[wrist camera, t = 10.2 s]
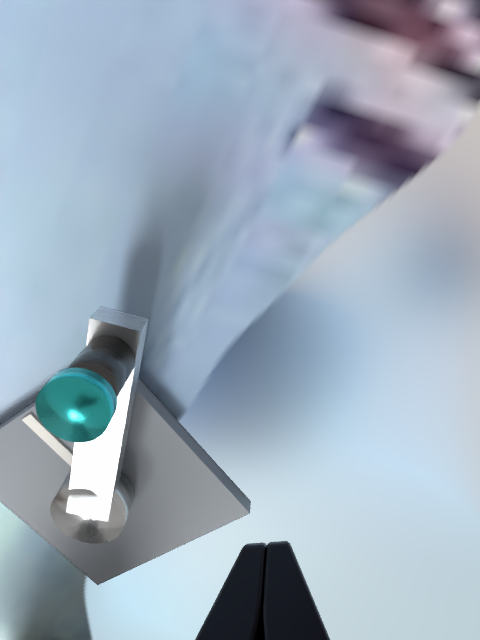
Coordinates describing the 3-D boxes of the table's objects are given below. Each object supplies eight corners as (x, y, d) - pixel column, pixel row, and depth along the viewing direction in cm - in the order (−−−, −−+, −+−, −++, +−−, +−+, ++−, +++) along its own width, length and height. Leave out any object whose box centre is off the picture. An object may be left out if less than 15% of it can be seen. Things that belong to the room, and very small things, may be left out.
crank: (129, 522, 24) (91, 625, 19) (62, 506, 24) (7, 606, 19) (170, 318, 19) (133, 388, 14) (86, 296, 18) (18, 359, 14)
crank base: (250, 501, 24) (249, 514, 23) (102, 572, 27) (97, 586, 26) (112, 348, 21) (105, 358, 20) (-38, 450, 24) (-49, 462, 23)
